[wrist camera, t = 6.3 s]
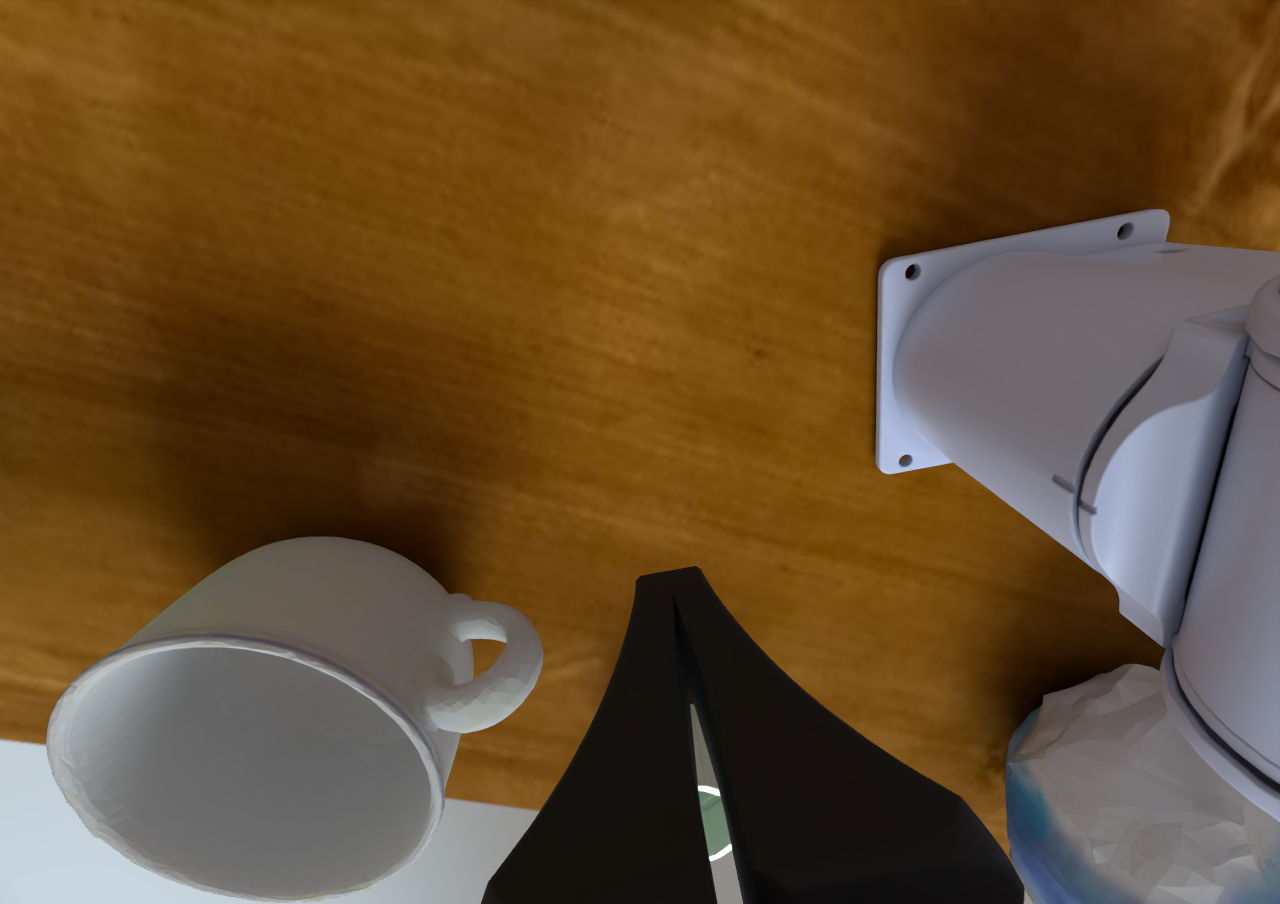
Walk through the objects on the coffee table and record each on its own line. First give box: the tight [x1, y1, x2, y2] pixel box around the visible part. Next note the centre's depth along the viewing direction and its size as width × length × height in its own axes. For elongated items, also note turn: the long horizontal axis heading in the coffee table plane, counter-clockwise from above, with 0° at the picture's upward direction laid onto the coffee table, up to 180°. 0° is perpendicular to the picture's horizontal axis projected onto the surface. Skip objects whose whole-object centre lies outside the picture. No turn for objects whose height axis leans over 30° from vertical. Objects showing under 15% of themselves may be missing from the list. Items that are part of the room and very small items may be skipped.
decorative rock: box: [1005, 664, 1280, 904], centre depth 24 cm, size 14×16×15 cm
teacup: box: [46, 537, 543, 903], centre depth 19 cm, size 14×11×8 cm
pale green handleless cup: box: [690, 704, 732, 861], centre depth 26 cm, size 6×6×4 cm
